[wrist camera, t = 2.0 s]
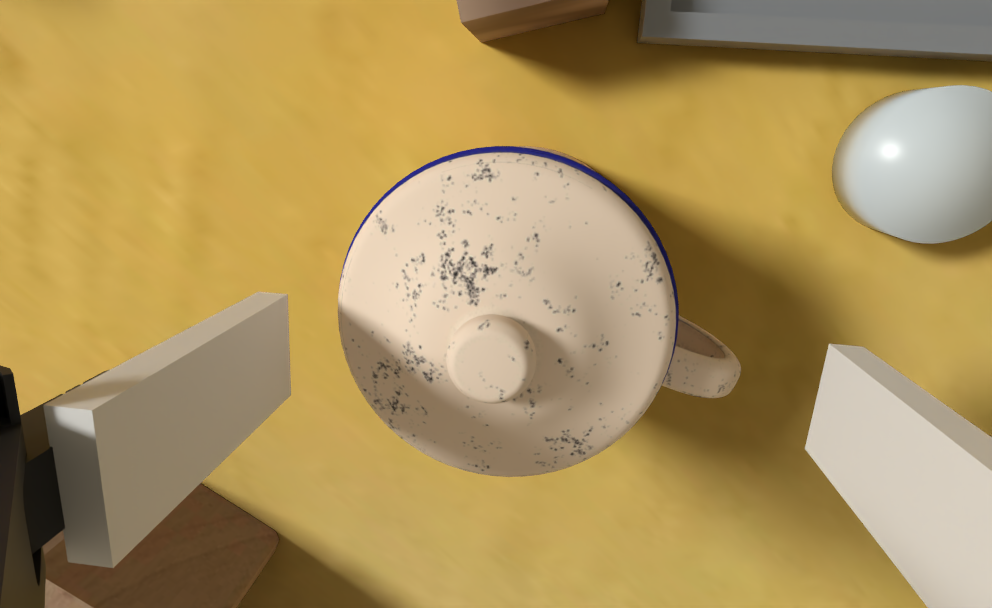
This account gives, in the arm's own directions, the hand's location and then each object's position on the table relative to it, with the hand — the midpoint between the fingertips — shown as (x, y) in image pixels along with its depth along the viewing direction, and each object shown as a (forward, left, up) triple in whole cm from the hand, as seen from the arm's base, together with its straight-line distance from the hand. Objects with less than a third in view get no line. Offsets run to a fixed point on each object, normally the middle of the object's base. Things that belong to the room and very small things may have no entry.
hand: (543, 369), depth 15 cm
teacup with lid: (0, 0, -10) cm, 10 cm away
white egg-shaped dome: (-12, -5, -10) cm, 17 cm away
